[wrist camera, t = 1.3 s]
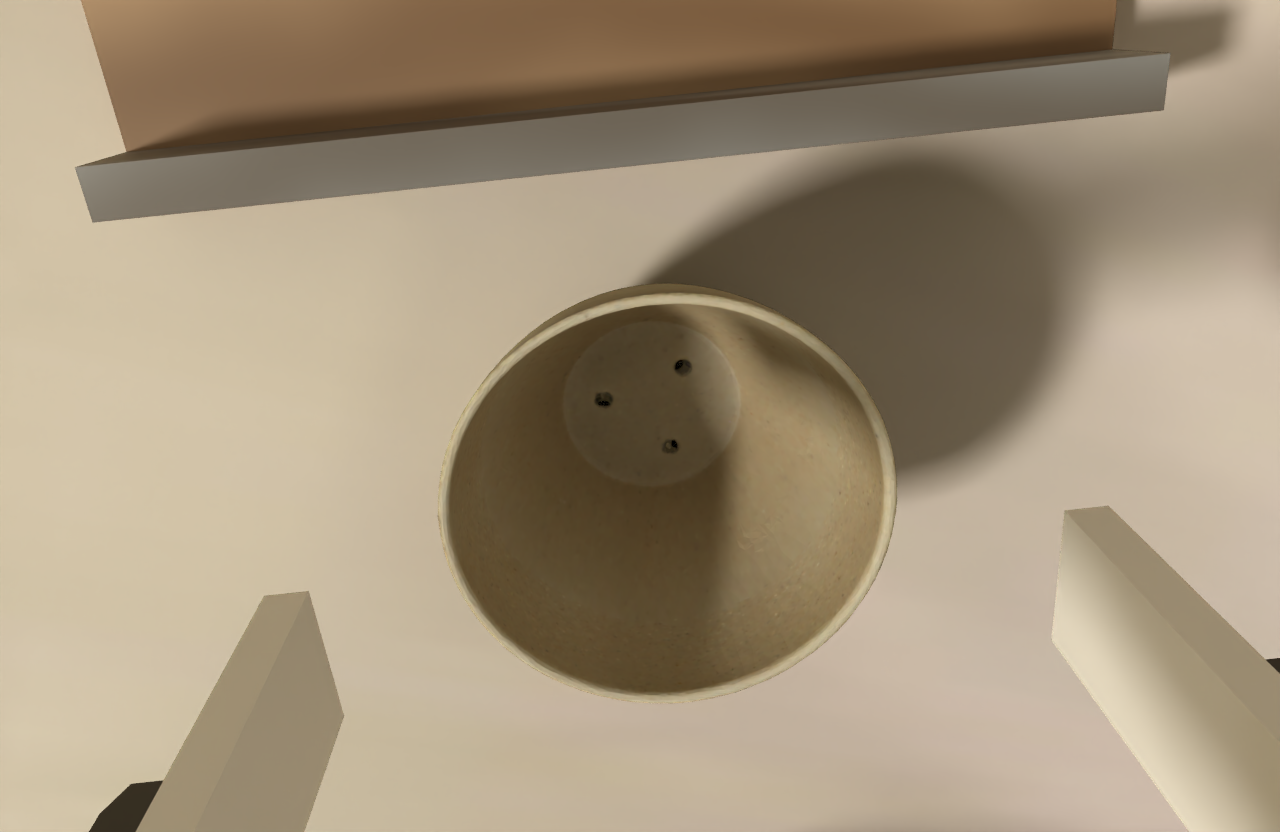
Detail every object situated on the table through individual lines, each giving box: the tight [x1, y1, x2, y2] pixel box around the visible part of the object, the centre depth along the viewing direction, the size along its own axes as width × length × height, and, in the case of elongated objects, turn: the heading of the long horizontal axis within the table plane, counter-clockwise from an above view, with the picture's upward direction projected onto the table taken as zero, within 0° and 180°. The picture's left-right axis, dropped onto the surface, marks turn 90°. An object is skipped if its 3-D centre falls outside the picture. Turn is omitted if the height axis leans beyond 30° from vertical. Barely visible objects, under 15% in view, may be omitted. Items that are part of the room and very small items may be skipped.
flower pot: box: [438, 284, 897, 704], centre depth 24 cm, size 10×10×7 cm
